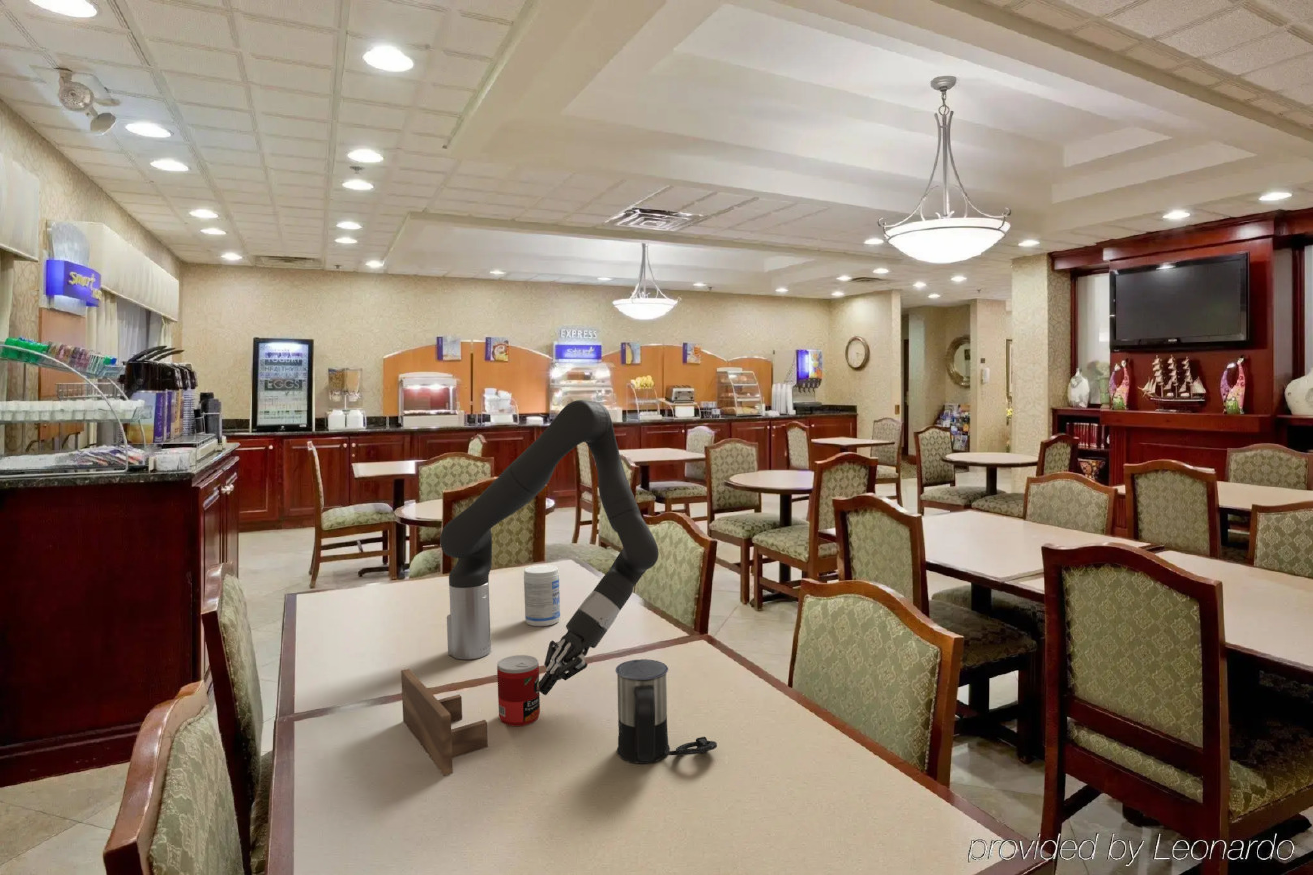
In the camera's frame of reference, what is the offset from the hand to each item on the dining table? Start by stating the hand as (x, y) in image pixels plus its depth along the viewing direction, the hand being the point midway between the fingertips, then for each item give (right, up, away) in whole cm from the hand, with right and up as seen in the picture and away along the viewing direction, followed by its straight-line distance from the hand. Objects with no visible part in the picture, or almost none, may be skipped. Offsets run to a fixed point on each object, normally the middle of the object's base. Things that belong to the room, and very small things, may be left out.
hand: (540, 692), depth 140 cm
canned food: (-4, -4, -2) cm, 6 cm away
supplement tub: (-8, 0, +55) cm, 55 cm away
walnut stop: (-15, -5, -10) cm, 19 cm away
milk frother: (+25, -5, -17) cm, 30 cm away
